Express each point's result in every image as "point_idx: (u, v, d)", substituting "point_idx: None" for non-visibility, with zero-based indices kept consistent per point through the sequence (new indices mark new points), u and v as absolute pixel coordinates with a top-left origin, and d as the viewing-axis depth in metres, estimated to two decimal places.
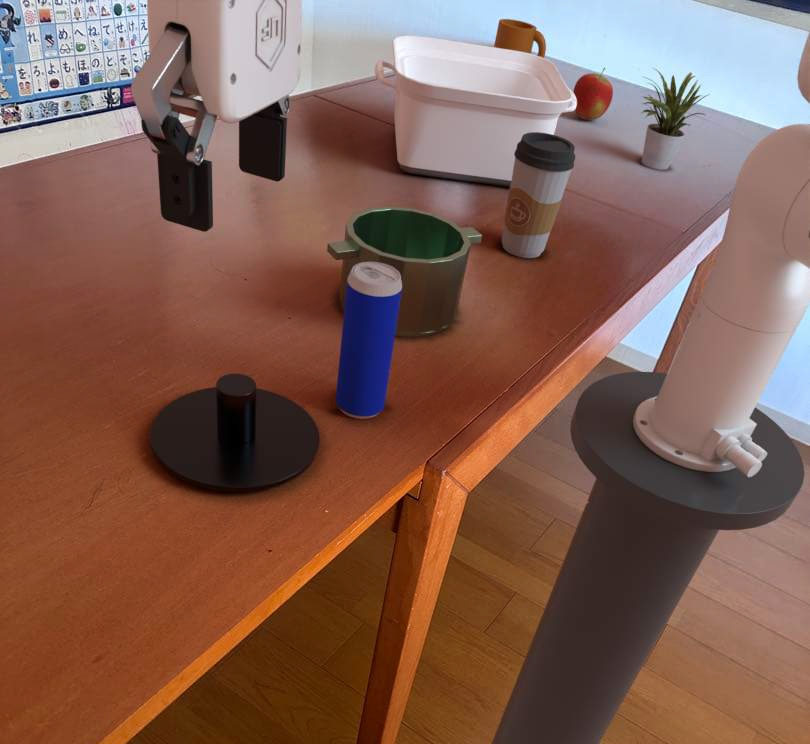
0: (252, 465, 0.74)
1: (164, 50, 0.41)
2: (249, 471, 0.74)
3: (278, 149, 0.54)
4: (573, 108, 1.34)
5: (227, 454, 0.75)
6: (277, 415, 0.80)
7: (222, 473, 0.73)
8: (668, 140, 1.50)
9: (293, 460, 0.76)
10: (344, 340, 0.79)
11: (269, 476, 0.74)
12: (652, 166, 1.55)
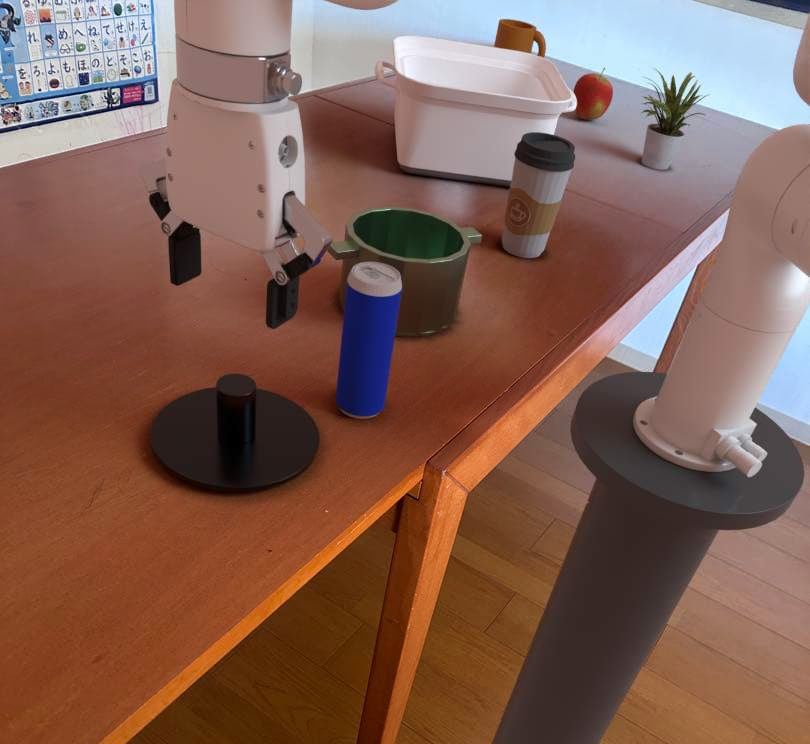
0: (252, 465, 0.74)
1: (302, 211, 0.59)
2: (249, 471, 0.74)
3: (200, 251, 0.68)
4: (573, 108, 1.34)
5: (227, 454, 0.75)
6: (277, 415, 0.80)
7: (222, 473, 0.73)
8: (668, 140, 1.50)
9: (293, 460, 0.76)
10: (344, 340, 0.79)
11: (269, 476, 0.74)
12: (652, 166, 1.55)
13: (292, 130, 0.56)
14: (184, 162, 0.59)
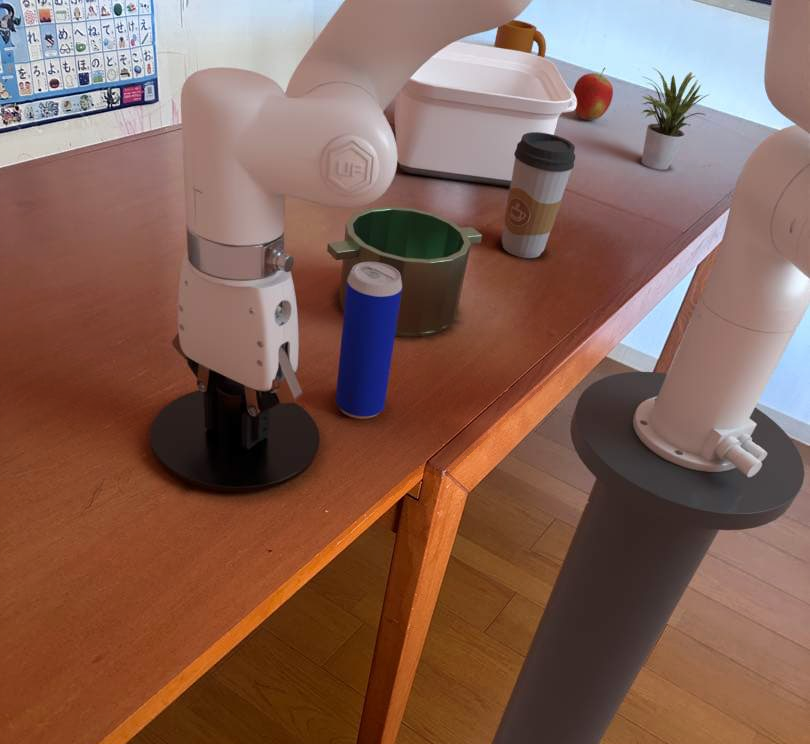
0: (252, 465, 0.74)
1: (287, 369, 0.69)
2: (249, 471, 0.74)
3: None
4: (573, 108, 1.34)
5: (227, 454, 0.75)
6: (277, 415, 0.80)
7: (222, 473, 0.73)
8: (668, 140, 1.50)
9: (293, 460, 0.76)
10: (344, 340, 0.79)
11: (269, 476, 0.74)
12: (652, 166, 1.55)
13: (286, 296, 0.66)
14: (194, 318, 0.68)
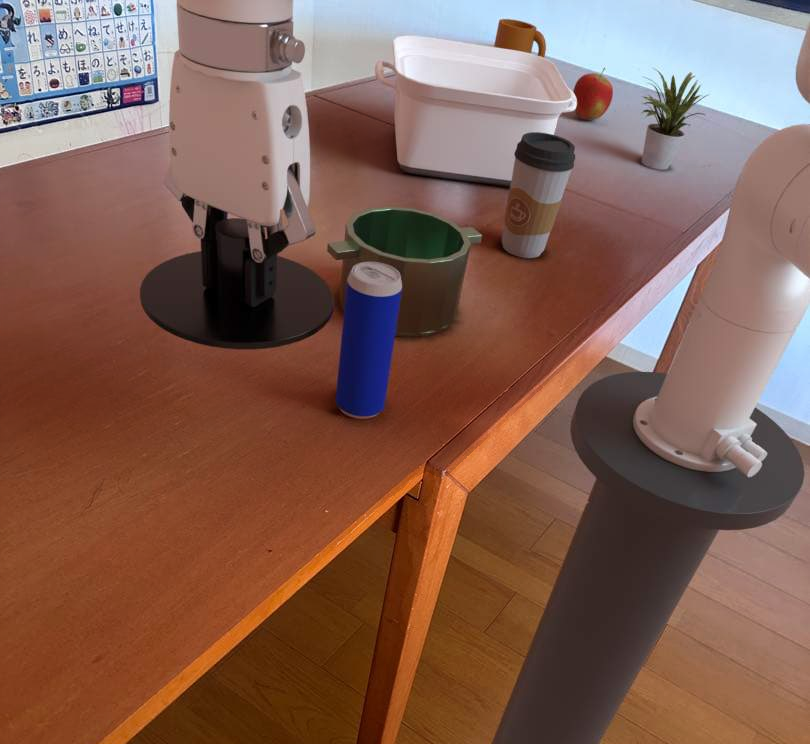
0: (257, 323, 0.64)
1: (297, 198, 0.59)
2: (254, 328, 0.64)
3: None
4: (573, 108, 1.33)
5: (228, 312, 0.65)
6: (285, 277, 0.70)
7: (223, 329, 0.63)
8: (668, 140, 1.50)
9: (304, 319, 0.66)
10: (344, 340, 0.79)
11: (277, 333, 0.64)
12: (652, 166, 1.55)
13: (296, 100, 0.56)
14: (188, 135, 0.58)
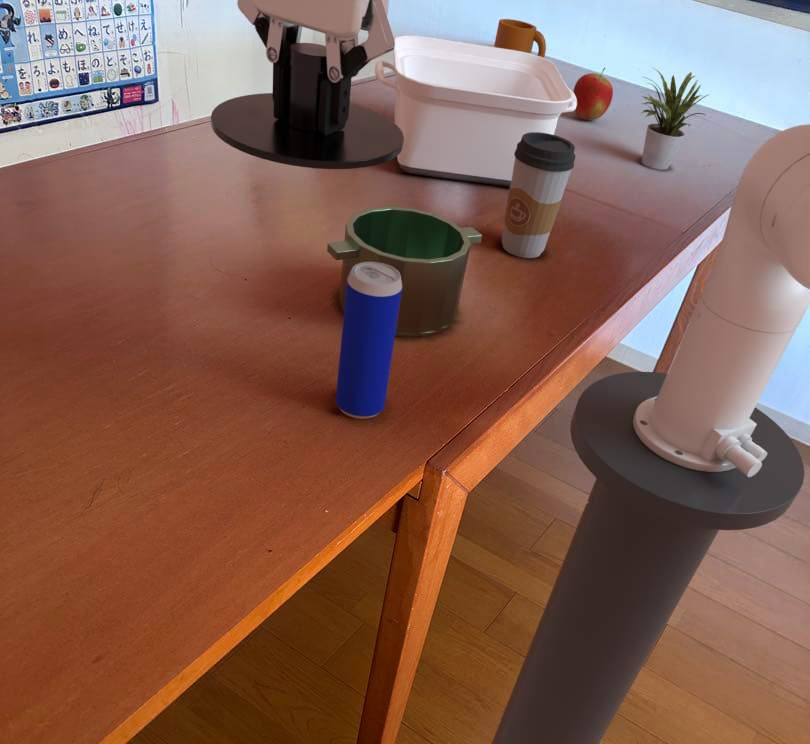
0: (332, 147, 0.64)
1: (379, 7, 0.59)
2: (329, 151, 0.63)
3: None
4: (573, 108, 1.34)
5: (302, 138, 0.65)
6: (352, 116, 0.70)
7: (299, 150, 0.63)
8: (668, 140, 1.50)
9: (378, 147, 0.65)
10: (344, 340, 0.79)
11: (353, 156, 0.63)
12: (652, 166, 1.55)
13: None
14: None
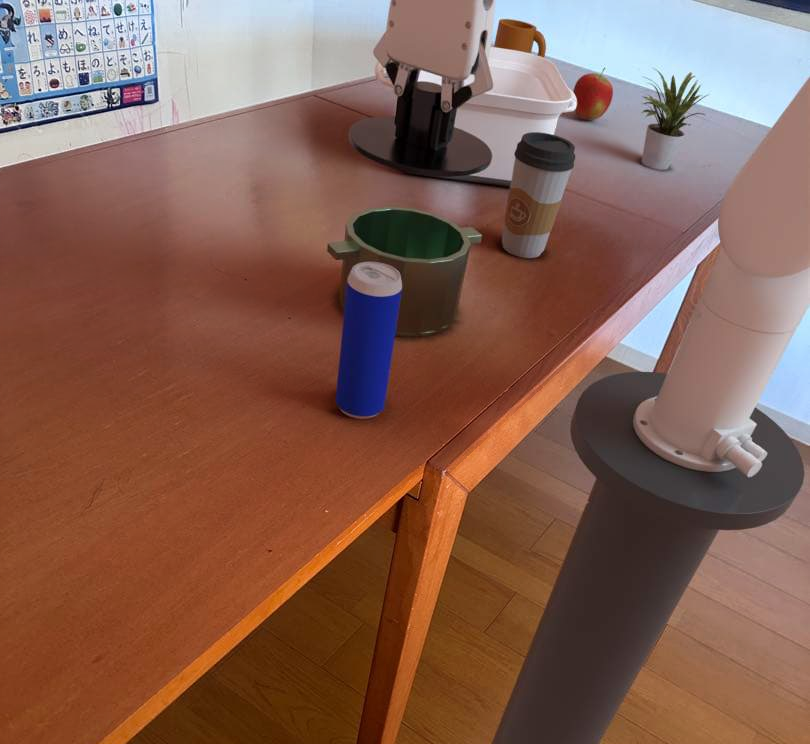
0: (441, 160, 0.86)
1: (484, 58, 0.81)
2: (440, 162, 0.85)
3: None
4: (573, 108, 1.34)
5: (418, 152, 0.86)
6: None
7: (418, 161, 0.84)
8: (668, 140, 1.50)
9: (474, 160, 0.87)
10: (344, 340, 0.79)
11: (458, 166, 0.85)
12: (652, 166, 1.55)
13: None
14: (406, 9, 0.79)
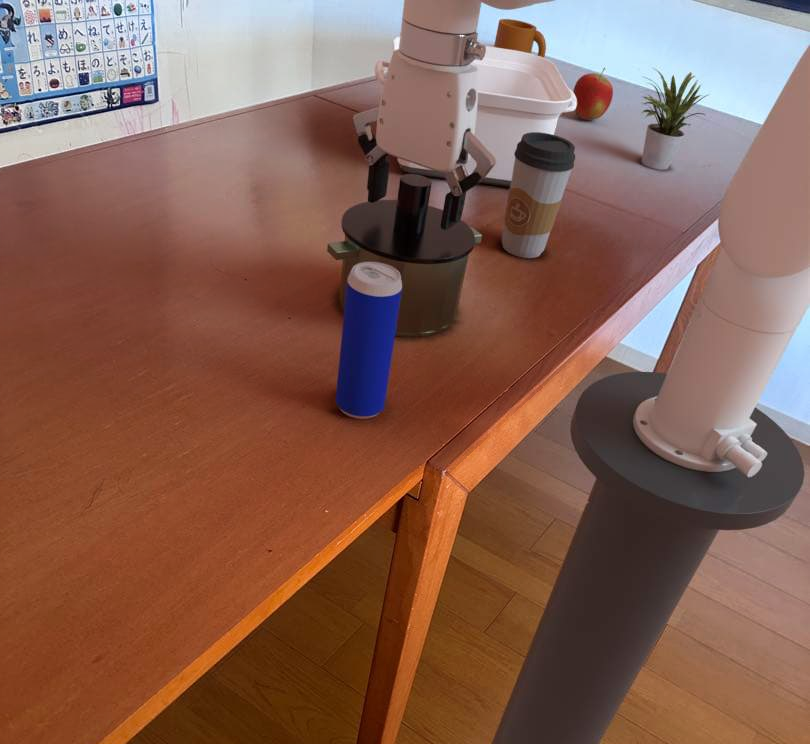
0: (427, 247, 0.92)
1: (476, 142, 0.86)
2: (426, 250, 0.92)
3: (387, 178, 0.95)
4: (573, 108, 1.34)
5: (406, 239, 0.93)
6: (437, 219, 0.98)
7: (406, 250, 0.91)
8: (668, 140, 1.50)
9: (458, 246, 0.93)
10: (344, 340, 0.79)
11: (442, 254, 0.91)
12: (652, 166, 1.55)
13: (474, 85, 0.83)
14: (395, 109, 0.86)
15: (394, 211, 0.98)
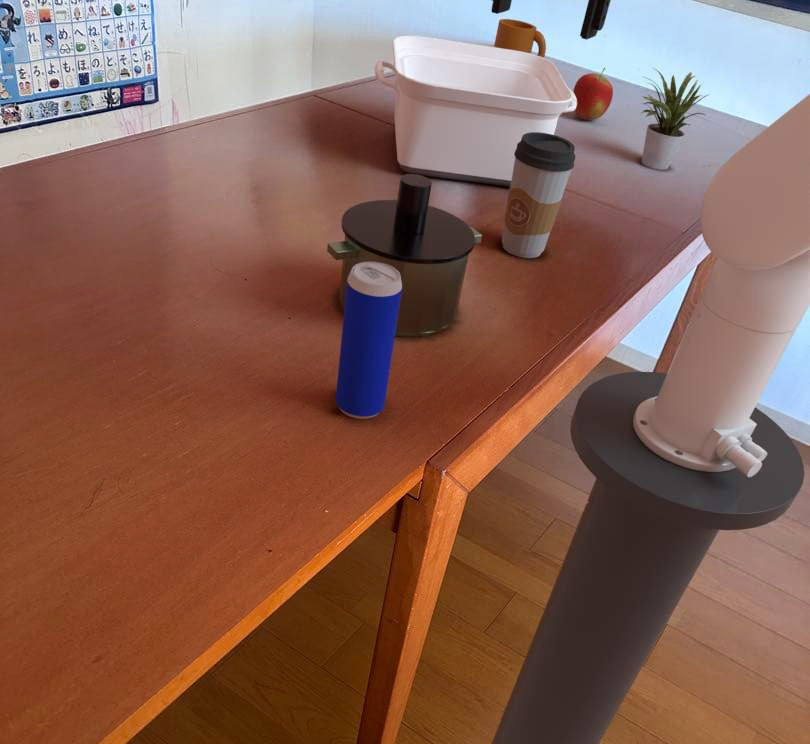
0: (427, 247, 0.92)
1: None
2: (426, 250, 0.92)
3: None
4: (573, 108, 1.34)
5: (406, 239, 0.93)
6: (437, 219, 0.98)
7: (406, 250, 0.91)
8: (668, 140, 1.50)
9: (458, 246, 0.93)
10: (344, 340, 0.79)
11: (442, 254, 0.91)
12: (652, 166, 1.55)
13: None
14: None
15: (394, 211, 0.98)
